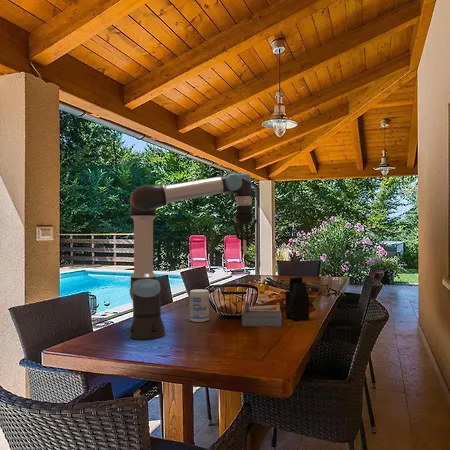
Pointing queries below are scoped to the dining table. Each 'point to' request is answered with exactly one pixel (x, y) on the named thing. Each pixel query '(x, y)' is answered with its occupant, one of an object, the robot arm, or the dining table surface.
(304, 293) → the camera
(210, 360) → the dining table surface
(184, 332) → the dining table surface
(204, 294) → the supplement tub
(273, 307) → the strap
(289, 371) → the dining table surface
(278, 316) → the heatsink block
